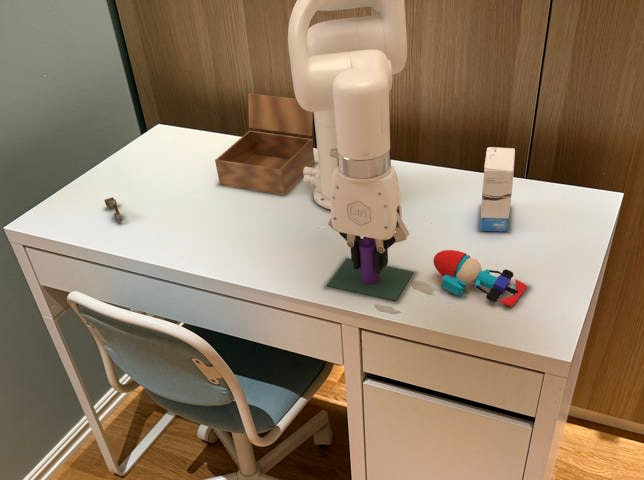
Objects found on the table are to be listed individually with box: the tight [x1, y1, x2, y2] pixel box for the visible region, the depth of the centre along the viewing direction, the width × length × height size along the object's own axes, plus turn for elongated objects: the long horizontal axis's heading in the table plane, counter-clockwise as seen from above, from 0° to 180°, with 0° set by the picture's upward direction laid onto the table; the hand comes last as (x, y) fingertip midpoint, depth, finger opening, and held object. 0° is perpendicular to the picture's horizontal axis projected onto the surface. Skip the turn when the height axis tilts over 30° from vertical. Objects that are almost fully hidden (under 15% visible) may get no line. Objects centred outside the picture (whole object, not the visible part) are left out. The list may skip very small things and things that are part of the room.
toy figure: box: [433, 249, 528, 307], centre depth 112 cm, size 8×5×15 cm
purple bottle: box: [359, 237, 380, 285], centre depth 113 cm, size 3×3×8 cm
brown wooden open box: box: [214, 130, 316, 197], centre depth 144 cm, size 15×14×5 cm
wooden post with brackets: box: [103, 196, 123, 223], centre depth 137 cm, size 2×8×4 cm, turn 28°
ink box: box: [479, 146, 516, 232], centre depth 123 cm, size 8×5×12 cm, turn 168°
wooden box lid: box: [247, 93, 314, 137], centre depth 145 cm, size 15×7×1 cm
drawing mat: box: [326, 258, 414, 302], centre depth 116 cm, size 12×8×1 cm, turn 65°
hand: (369, 265), depth 114 cm, fingers closed on purple bottle, 3 cm apart
